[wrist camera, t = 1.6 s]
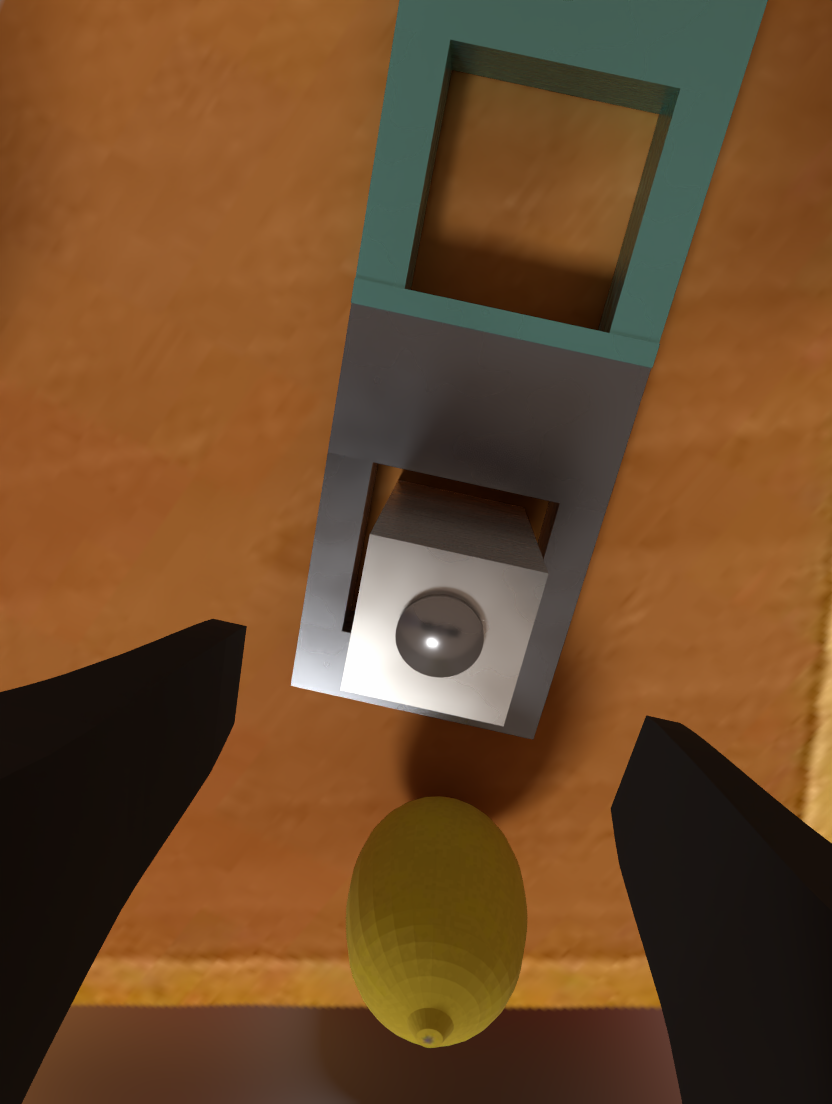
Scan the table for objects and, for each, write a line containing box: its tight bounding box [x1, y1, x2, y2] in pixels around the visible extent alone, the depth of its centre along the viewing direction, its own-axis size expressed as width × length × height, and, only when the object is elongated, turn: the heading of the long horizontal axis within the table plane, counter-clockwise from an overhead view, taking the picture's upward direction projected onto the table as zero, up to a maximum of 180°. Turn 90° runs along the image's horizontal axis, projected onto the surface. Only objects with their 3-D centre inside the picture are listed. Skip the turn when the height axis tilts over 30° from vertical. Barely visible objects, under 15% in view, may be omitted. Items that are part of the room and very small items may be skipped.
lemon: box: [346, 796, 527, 1048], centre depth 19 cm, size 6×6×8 cm
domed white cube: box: [340, 480, 549, 726], centre depth 17 cm, size 4×4×6 cm
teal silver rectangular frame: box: [291, 0, 768, 739], centre depth 17 cm, size 8×20×2 cm, turn 168°
